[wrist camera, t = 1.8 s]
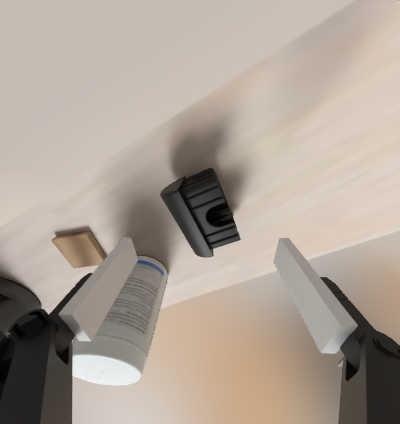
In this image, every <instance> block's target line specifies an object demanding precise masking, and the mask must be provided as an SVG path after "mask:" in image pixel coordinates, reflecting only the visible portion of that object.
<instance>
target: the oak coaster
mask: <svg viewBox="0 0 400 424" xmlns="http://www.w3.org/2000/svg"><path fill="white" fill-rule="evenodd" d="M52 242H53V243H54V244H55V245H56V247H57V248H58V249H59V250H60V252H61V253H62V254H63V255H64V257H65V258H66V259H67V261H68V262H69V263H70V264H71V266H72V267H73V268H79V267H86V266H93V265H100V264H101V263H102V262H103V261H104V260H105V258H106V255H105V254H104V252H103V251H102V249H101V247H100V246H99V244H98V243H97V241H96V240H95V238H94V236H93V235H92V233H91V232H90V231H86V232H80V233H74V234H69V235H63V236H57V237H55V238H53V239H52Z"/></svg>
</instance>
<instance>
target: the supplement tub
mask: <svg viewBox="0 0 400 424" xmlns="http://www.w3.org/2000/svg"><path fill="white" fill-rule="evenodd" d="M137 258H138V261H137V263H136V265H135V266H134V268H133V270H132V272H131V273H130V275H129V277H128V279H127V280H126V282H125V284H124V285H123V287H122V289H121V291H120V292H119V294H118V296H117V298H116V299H115V301H114V303H113V305H112V306H111V308H110V310H109V312H108V313H107V315H106V317H105V319H104V320H103V322H102V324H101V326H100V327H99V329H98V331H97V333H96V334H95V336H94V338H93V340H92V341H91V342H89V341H79V340H78V339H77V338H76V336H75V338H74V340H73V342H72V345H73V363H72V375H73V376H75V377H77V378H80V379H83V380H86V381H89V382H93V383H98V384H104V385H127V384H132V383H135V382H136V381H138V380H139V379H140V378H141V375H142V372H143V369H144V365H145V364H146V361H147V357H148V353H149V350H150V346H151V342H152V338H153V334H154V331H155V327H156V323H157V319H158V315H159V311H160V307H161V303H162V299H163V296H164V292H165V288H166V284H167V280H168V274H167V271H166V269H165V267H164V266H163V265H162V264H161V263H160V262H159V261H157V260H155V259H153V258H151V257H147V256H137Z"/></svg>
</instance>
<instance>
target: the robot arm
mask: <svg viewBox="0 0 400 424" xmlns="http://www.w3.org/2000/svg"><path fill="white" fill-rule="evenodd" d="M137 261H138V258H137V255H136V251H135V248H134V244H133V241H132V238H131V237H123V238H122V240H121V241H120V242H119V243H118V244H117V245H116V247H115V248H114V249H113V250H112V251H111V253H110V254H109V255H108V256H107V257H106V258H105V260H104V261H103V262H102V263H101V264H100V265H99V267H98V268H97V269H96V270H95V271H94V273H89V274H87V275H86V276H84V277H83V278H82V279H81V280H80V281H79V282H78V283H77V284H76V285H75V287H73V289H72V290H71V291H70V293H68V294H67V295H66V296H65V298H64V299H63V300H62V301H61V302H60V303H59V304H58V305H57V306H56V308H55V309H54V310H53V311H52V312H51V313H50V314H49V315H48V314H47V312H46V311H45V310H44V309H42V308H41V305H40V303H39V301H38V299H37V298H36V297H35V296H34V295H33V294H32V293H31V292H29V291H28V290H27V289H25V288H23V287H22V286H20V285H18V284H16V283H14V282H11V281H8V280H6V279H2V278H0V424H72V363H73V345H72V340H73V339H74V337H75V336H76V338H77V339H78V340H79V341H89V342H91V341H92V340H93V338H94V336H95V334H96V333H97V331H98V329H99V327H100V326H101V324H102V322H103V320H104V319H105V317H106V315H107V313H108V312H109V310H110V308H111V306H112V305H113V303H114V301H115V299H116V298H117V296H118V294H119V292H120V291H121V289H122V287H123V285H124V284H125V282H126V280H127V279H128V277H129V275H130V273H131V272H132V270H133V268H134V266H135V265H136V263H137ZM274 264H275V266H276V267H277V269H278V271H279V273H280V275H281V277H282V279H283V281H284V283H285V285H286V287H287V289H288V291H289V293H290V294H291V296H292V298H293V300H294V302H295V304H296V306H297V308H298V310H299V312H300V314H301V316H302V318H303V319H304V321H305V323H306V325H307V327H308V329H309V331H310V333H311V335H312V337H313V338H314V341H315V343H316V345H317V347H318V348H319V350H320V352H321V353H334V354H335V353H337V351H338V350H339V349H341V350H342V352H343V354H344V355H345V356H344V357H343V359H342V360H341V361H340V362H339V364H338V367H340V368H341V367H342V365H343V368H342V383H341V395H340V409H339V423H338V424H400V345H398V344H397V343H396V342H395V341H394V340H393V339H391V338H390V337H388V336H387V335H385V334H383V333H381V332H378V331H376V330H375V329H374V328H373V327H372V326H371V325H370V324H369V323H368V321H367V320H366V319H365V318H364V317H363V315H362V314H361V313H360V312H359V311H358V310H357V308H356V307H355V306H354V305H353V304H352V303H351V301H349V300H348V298H347V297H346V296H345V295H344V294H343V293H342V291H341V290H340V289H339V288H338V286H337V285H336V284H335V283H333V282H332V281H331V280H329V279H328V278H327V277H319V276H318V274H317V273H316V272H315V271H314V269H313V268H312V267H311V266H310V264H309V263H308V262H307V260H306V259H305V258H304V257H303V255H302V254H301V253H300V252H299V250H298V249H297V248H296V246H295V245H294V244H293V243H292V241H291V240H290V239H289V238H280V239H279V242H278V246H277V250H276V254H275V258H274Z"/></svg>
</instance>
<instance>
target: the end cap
mask: <svg viewBox="0 0 400 424" xmlns="http://www.w3.org/2000/svg"><path fill="white" fill-rule="evenodd" d="M161 197H162V199H163V201H164V202H165V204H166V206H167V207H168V209H169V211H170V212H171V214H172V216H173V217H174V219H175V221H176V222H177V224H178V226H179V227H180V229H181V231H182V233H183V234H184V236H185V238H186V239H187V241H188V243H189V244H190V246H191V248H192V249H193V251H194V253H195V254H196V255H198V256H200V257H212V256H213V249H214V248H217V247H220V246H223V245H226V244H229V243H232V242H236V241H239V240H241V239H240V236H239V233H238V232H237V227H236V224H235V221H234V219H233V216H232V213H231V211H230V208H229V206H228V203H227V201H226V198H225V196H224V193H223V191H222V188H221V186H220V183H219V181H218V178H217V176H216V173H215V171H214V169H212V168H209V169H207V170H204V171H202V172H200V173H198V174H195V175H193V176H191V177H189V178H187V179H186V177H183V178H181V179H179V180H177V181H175V182H173V183H172V184H170V185H169V186H167V187H166V188H164V189H163V190H162V192H161Z"/></svg>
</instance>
